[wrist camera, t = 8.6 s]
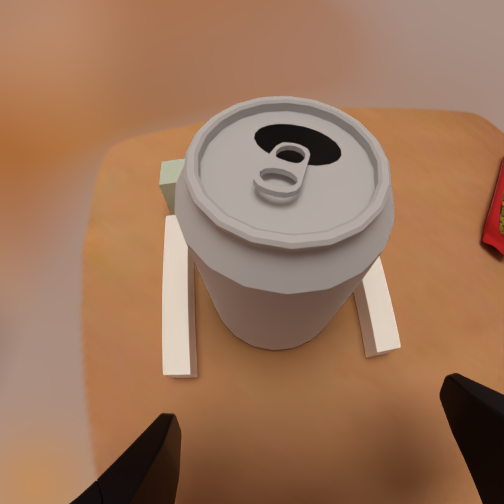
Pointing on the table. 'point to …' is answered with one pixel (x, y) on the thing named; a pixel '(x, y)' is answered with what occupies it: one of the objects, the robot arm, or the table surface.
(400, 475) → the table surface
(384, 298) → the set of pale bars
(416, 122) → the table surface
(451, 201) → the table surface
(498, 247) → the candy bar
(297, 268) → the can
